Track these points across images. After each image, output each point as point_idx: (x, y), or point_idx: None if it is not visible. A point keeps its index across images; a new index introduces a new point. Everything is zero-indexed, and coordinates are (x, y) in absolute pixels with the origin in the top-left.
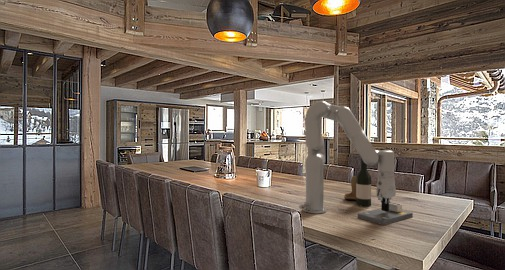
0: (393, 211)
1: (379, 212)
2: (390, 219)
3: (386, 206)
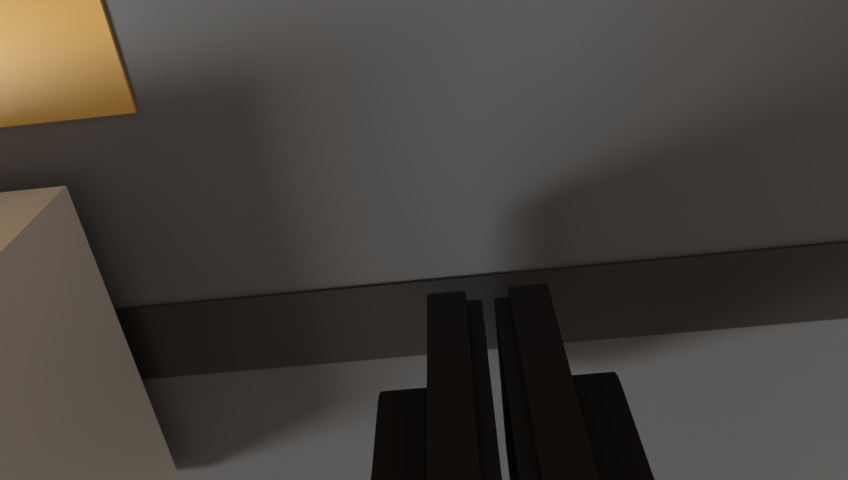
0: None
1: None
2: None
3: (578, 434)
